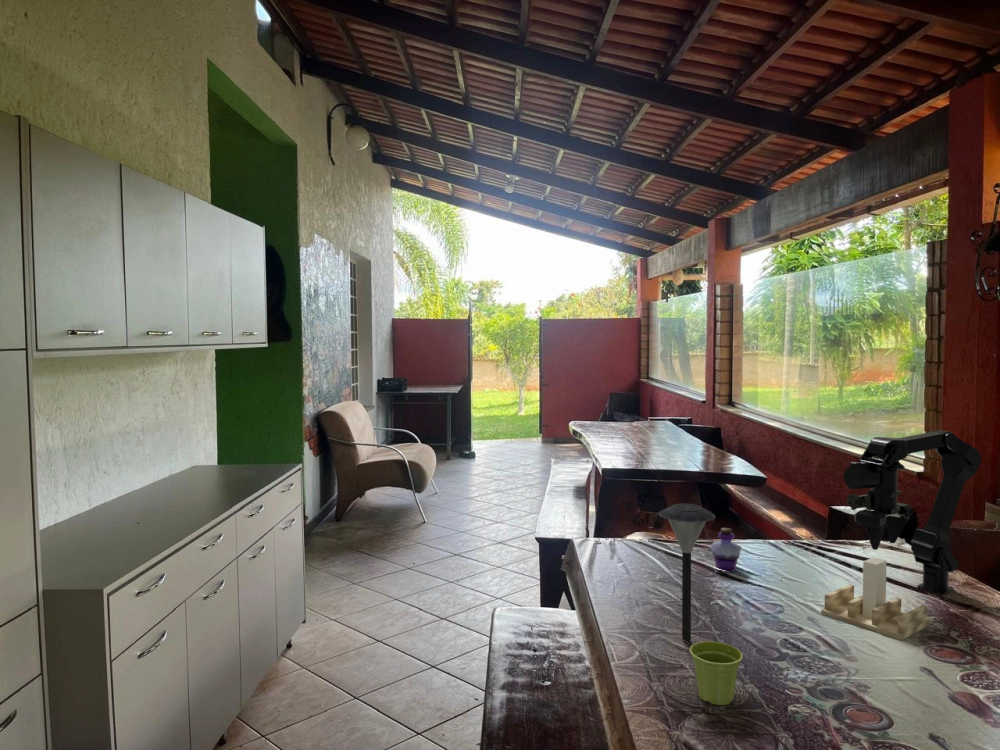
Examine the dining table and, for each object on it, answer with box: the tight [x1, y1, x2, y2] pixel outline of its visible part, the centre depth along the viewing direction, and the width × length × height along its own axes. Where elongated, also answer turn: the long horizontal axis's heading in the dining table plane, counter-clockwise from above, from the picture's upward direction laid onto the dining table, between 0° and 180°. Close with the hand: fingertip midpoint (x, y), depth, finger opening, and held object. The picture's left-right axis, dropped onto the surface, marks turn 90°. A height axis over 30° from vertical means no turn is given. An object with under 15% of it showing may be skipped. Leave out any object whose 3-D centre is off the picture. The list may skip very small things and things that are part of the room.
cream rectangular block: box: [862, 557, 887, 618], centre depth 159 cm, size 5×3×13 cm, turn 126°
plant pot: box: [689, 640, 744, 706], centre depth 125 cm, size 9×9×9 cm
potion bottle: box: [710, 527, 742, 571], centre depth 196 cm, size 9×9×12 cm
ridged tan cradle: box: [820, 583, 931, 641], centre depth 160 cm, size 14×18×4 cm
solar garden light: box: [658, 503, 717, 642], centre depth 149 cm, size 12×12×30 cm
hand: (883, 546), depth 174 cm, fingers open, 9 cm apart
